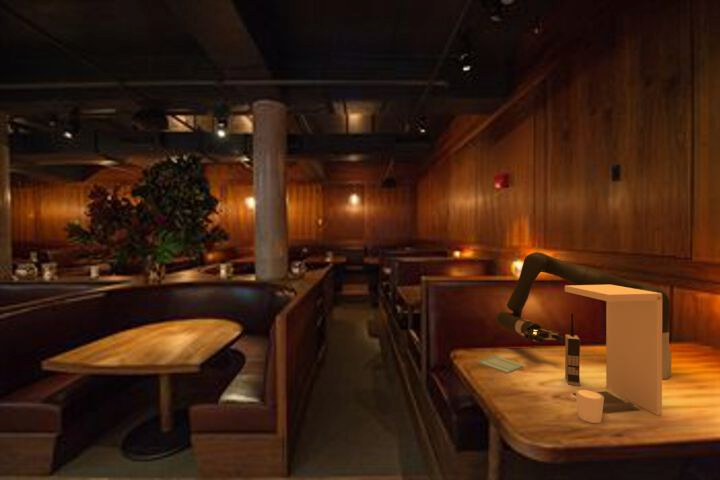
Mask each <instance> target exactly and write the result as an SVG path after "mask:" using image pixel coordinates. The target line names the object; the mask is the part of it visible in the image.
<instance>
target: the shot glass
mask: <svg viewBox="0 0 720 480" xmlns="http://www.w3.org/2000/svg"><path fill="white" fill-rule="evenodd" d="M598 392H599V391H594V390H592V389H587V388H580V389H576V390H575V393H576V395H575V397H576V407H577V409H576V410H577V415H578V418H580V419H581V420H583V421H585V422H588V423H592V424H593V423H594V424H599V423H601V422H602V418H603V413H602V411H603V403H604V396H603V395H601V394H600V393H598Z"/></svg>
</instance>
